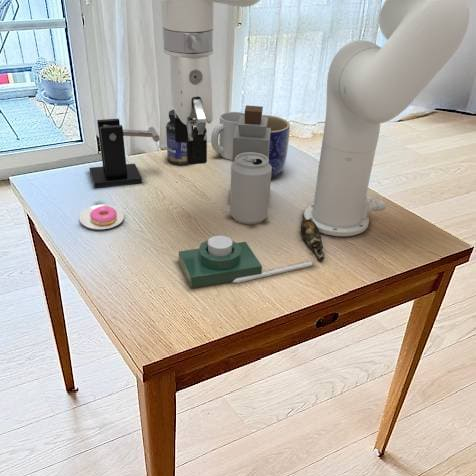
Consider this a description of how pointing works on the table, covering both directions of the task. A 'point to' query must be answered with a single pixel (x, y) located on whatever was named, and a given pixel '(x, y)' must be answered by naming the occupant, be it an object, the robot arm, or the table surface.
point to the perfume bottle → (252, 133)
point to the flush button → (220, 246)
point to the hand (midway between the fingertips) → (190, 151)
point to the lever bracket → (113, 158)
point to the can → (250, 187)
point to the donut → (101, 216)
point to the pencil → (273, 272)
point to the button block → (218, 265)
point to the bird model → (312, 237)
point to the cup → (225, 134)
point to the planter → (278, 142)
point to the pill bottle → (175, 144)
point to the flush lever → (140, 133)
